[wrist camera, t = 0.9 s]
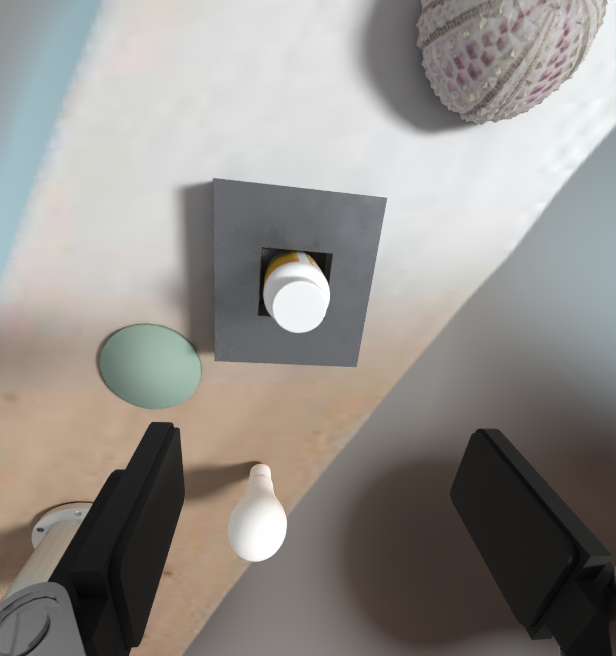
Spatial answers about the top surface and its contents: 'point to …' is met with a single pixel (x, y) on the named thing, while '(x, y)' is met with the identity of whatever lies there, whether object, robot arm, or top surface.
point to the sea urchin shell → (503, 51)
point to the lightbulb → (257, 518)
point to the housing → (293, 234)
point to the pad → (150, 366)
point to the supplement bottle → (295, 291)
